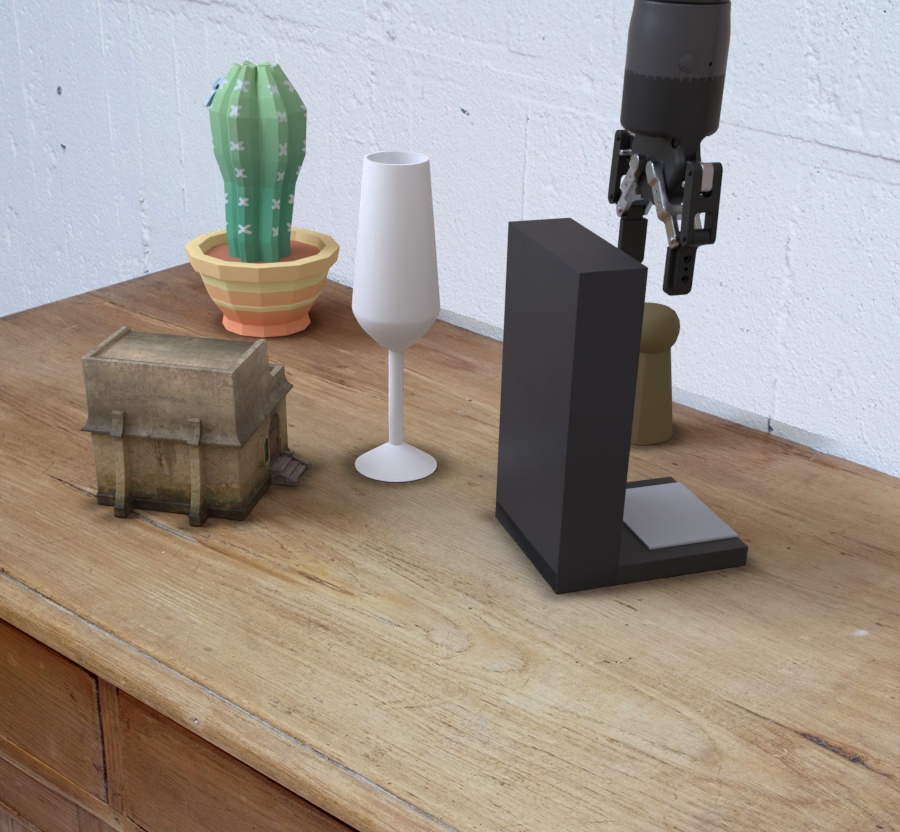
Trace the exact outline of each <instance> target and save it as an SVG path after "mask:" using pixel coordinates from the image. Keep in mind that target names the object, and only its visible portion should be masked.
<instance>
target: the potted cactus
mask: <svg viewBox="0 0 900 832" xmlns="http://www.w3.org/2000/svg"><path fill="white" fill-rule="evenodd" d="M211 87H212V90H211V91H209V93H208V94H207V96H206V98H205V100H204V101H203V103H202V106H203V107H205V108H206V110H208V115H209V123H210V132H211V141H212V149H213V155H214V157H215V161H216V163H217V165H218V168H219V171H220V174H221V177H222V180H223V189H224V190H223V191H224V207H225V208H224V210H225V227H226V228H224V229H219V230H215V231H211V232H207V233H203V234H199V235H197V236H196V237H194V238H193V239H192V240H190V241H189V242H188V243H186V244H185V245H184V248H185V252H186V254H187V255H186V256H187V258H188V261H189V263H190V265H191V266H192V268H193V270H194V271H195V272H196V273H199V275H200V277H201V280H202V282H203V284H204V286H205V288H206V291H207V293H208V295H209V298H211V300H212V302H213V303H214V304H215V305H216V306H217V308H218V309H219V311H221V313H222V314H223V315H222V322H221V324H222V325H223V327H224V328H225V331H228V332H230V333H234V334H237V335H239V336H244V337H254V338H271V337H272V338H273V337H283V336H285V337H286V336H289V335H292V334H295V333H299V332H303V331H304V330H306V328H307V327H308V326H309V325H311V319H310V316H309V312H310V310H311V309H312V307H313V305H314V304H315V303H316V301H317V300H318V298H319V297H320V295H321V294H322V292H323V289H324V288H325V284H326V280H327V277H328V274H329V272H330V269H331V268H332V267H333V266H334V265H335V264H336V263H337V262H338V259H339V254H340V249H341V248H340V247H341V245H339V243H338V242H337V241H336V240H335V239H334V238H333V237H332V235H329V234H325V233H322V232H318V231H315V230H311V229H307V228H304V227H292V225H293V214H294V205H295V196H296V195H295V194H296V185H297V181H298V178H299V175H300V173H301V169H302V166H303V163H304V161H305V158H306V155H307V124H308V123H307V122H308V119H307V118H308V108H307V107H306V105H305V104H304V102H303V99H302V98H301V95H300V94H299V93H298V91H297V90H296V88H295V87H294V85H293V83H292V82H291V81H290V79H289V77H288V76H287V75H286V73H285V72H284V71H283V69H282V67H281V66H280V64H279V63H275V64H273V65H272V63H271V62H270V61H269V60H265V61H263V62H261V63H259V64H257V65H256V64H255V63H253V62H251V61H249V60H243V62H242V64H239V63H237V62H233V64H232V66H231V67H230V68H229V70H228V72H227V73H226V75H223V77H220V78H219V77H218V78H217V79H216V80H215V81H214V83H213V84H212V85H211Z"/></svg>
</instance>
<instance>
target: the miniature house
mask: <svg viewBox="0 0 900 832" xmlns="http://www.w3.org/2000/svg"><path fill="white" fill-rule="evenodd" d="M80 360H81V368H82V376H83V383H84V389H85V390H84V391H85V400H86V407H87V419H86V422H85V423H84V425H82V427H81V428H80V432H86V433H90V438H91V439H90V440H91V446H92V447H91V448H92V454H93V463H94V470H95V471H94V472H95V477H96V479H95V480H96V486H97V492H96V494H95V495H96V503H97V504H98V505H104V506H112V507H113V514H114V517H115V518H123V519H126V518H127V517H128V516H129V515H130V514H131V513H132V512H133V511H134V510H135V509H138V510H147V511H157V512H164V513H171V514H172V513H173V514H181V515H188V525H189V526H192V527H199V528H200V527H202V526H203V524H204V523H205V522H206V521H207V520H208V519H209V518H215V519H224V520H225V519H226V520H234V521H244V520H246V518H247V517H248V515H250V513H252V512H251V511H253V509H254V508H255V506H256V505H257V504H258V502H259V501H260V499H262V497H263V496H264V495H265V493H266V492H267V491H268V489H269V488H270V486H271V485H272V484H273V485H282V486H290V487H291V486H292V487H298V486H299V479H300V477H301V476H302V474H303V473H304V472H305V470H306V469H309V470H310V469H311V467H312V465H311V464H312V462H311V461H307V460H305V459H303V458H302V457H300V456H298V455H296V453H295V451H293V450H291V449H290V448H289V440H288V439H289V438H288V437H289V436H288V435H289V434H288V415H287V395H288V394H289V393H290V391H292V389H293V388H294V384H293V383H291V382H290V381H289V380H288V379H287V376H286V372H285V370H286V369H285V364H281V363H272V362H270V361H269V351H268V341H267V339H264V338H258V339H257V340H255V341H244V340H236V339H235V340H233V339H225V338H224V339H221V338H213V337H202V336H201V337H200V336H190V335H180V334H169V333H157V332H148V331H138V330H137V331H136V330H135V331H134V330H132V328H131V327H130V326H120V327H119V328H118V329H117V330H116V331H115V332H113V333H112V334H111V335H109V336H108V337H106V338H105V339H104V340H103V341H101V342H100V343H99V344H98V345H96V346H95V347H94V348H92V349H91V350H89V352H87V353H86V354H84V355H83V356H82V357H81V358H80Z"/></svg>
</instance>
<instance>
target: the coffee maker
mask: <svg viewBox="0 0 900 832" xmlns="http://www.w3.org/2000/svg"><path fill="white" fill-rule="evenodd" d="M507 223H508V224H507V226H508V227H507V243H506V244H507V246H506V264H505V265H506V267H505V268H506V269H505V287H504V288H505V289H504V313H503V314H504V315H503V335H502V336H503V337H502V357H501V379H500V401H499V426H498V443H497V445H498V447H497V471H496V492H495V493H496V494H495V512H494V516H495V519H496V520H497V521H498V522H499V524H501V526H502V527H503V529H504V530H505V531H506V532H507V534H508V535H509V536H510V537H511V539H512V540H513V541H514V542H515V543H516V545H517V546H518V547H519V549H520V550H521V551H522V552H523V554H524V555H525V557H527V559H528V560H529V562H530V563H531V564H532V565H533V566H534V568H535V569H536V570H537V571H538V573H539V574H540V576H541V577H542V578H543V579H544V580H545V582H546V583H547V584H548V586H549V587H550V588H551V589H552V591H553V592H554V593H555V594H557V595H559V594H564V593H571V592H578V591H583V590H592V589H597V588H603V587H611V586H616V585H622V584H624V585H625V584H630V583H637V582H642V581H643V582H644V581H649V580H655V579H656V580H657V579H661V578H668V577H669V578H670V577H675V576H681V575H689V574H696V573H704V572H708V571H716V570H722V569H727V568H734V567H740V566H746V565H747V558H748V552H749V551H748V550H749V546H748V545H747V544H746V543H745V542H744V541H743V540H742V539H740V537H739V534H738V533H737V532H736V531H735V530H734V529H733V528H732V527H731V526H730V525H728V524H727V522H725V521H724V520H723V519H722V518H721V517H720V516H719V515H717V514H716V513H715V511H713V510H712V509H710V507H709V506H707V504H705V503H704V502H703V500H701V499H700V498H698V497H697V495H695V494H694V493H693V492H692V491H691V490H690V489H689V488H688V487H687V486H686V485H684V484H683V483H682V482H681V481H677V480H676V479H674V477H672V476H664V477H655V478H649V479H640V480H634V481H633V480H632V481H628V474H629V463H630V453H631V445H632V444H631V435H632V425H633V415H634V405H635V395H636V385H637V375H638V365H639V355H640V345H641V335H642V325H643V315H644V305H645V302H646V294H647V285H648V274H649V267H648V266H646V265H645V264H643V262H642V263H640V262H639V261H637V260H635V259H634V258H632V257H631V256H629V255H628V254H626V253H625V252H623V251H621V250H620V249H618V246H615V245H614V244H612V243H611V242H609V241H608V240H606V239H605V238H603V237H601V236H600V235H598V234H597V233H595V232H594V231H592V230H590V229H589V228H587V227H586V226H584V225H583V224H581V223H579V222H578V221H576V220H575V219H574V218H571V217H560V218H559V217H558V218H543V219H529V220H527V219H526V220H513V221H508V222H507Z"/></svg>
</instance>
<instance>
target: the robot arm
mask: <svg viewBox="0 0 900 832" xmlns="http://www.w3.org/2000/svg"><path fill="white" fill-rule="evenodd" d="M731 32H732V0H633V6H632V12H631V16H630V20H629V25H628V32H627V39H626V40H627V41H626V51H625V63H624V74H623V84H622V93H621V94H622V95H621V104H620V105H621V107H620V117H619V123H620V125H621V128H622V129H617V130H615V132H614V139H613V147H612V154H611V155H612V156H611V165H610V174H609V181H608V189H607V190H608V191H607V201H608V203H609V204H610V205H616V206H615V213H616V215H617V217H618V218H620V219H619V228H618V236H617V237H618V239H617V248H618V249H620V250H621V251H623V252H625V253H626V254H628V255H629V256H631V257H632V258H634V259H635V260H637V261H639V262H640V263H642V264H643V262H644V259H645V251H646V242H647V234H648V233H647V232H648V225H649V219H648V218H646V217H645V216H648V214H649V212H650V211H651V209H652V207H653V206H655V211H656V217H657V219H658V220H659V221H660V222H662V223H663V224H664V229H665V234H666V238H667V244H668V246H667V247H666V252H665V253H666V254H665V255H666V256H665V264H664V271H663V278H662V279H663V280H662V288H661V289H662V291H663V293H665V294H666V295H667V296H670V297H672V296H673V297H675V296H687V295H688V294H690V293H691V292H692V289H693V281H694V274H695V265H696V258H697V253H698V252H697V251H698V249H699V247H702V246H710V245H714V244H715V243H716V240H717V235H718V233H717V232H718V224H719V223H718V222H719V212H720V203H721V195H722V185H723V184H722V183H723V174H724V167H723V164H722V163H721V162H720V161H713V162H712V161H711V162H704V161H702V154H701V153H702V152H701V151H702V150H701V143H702V142H703V140H704V139H705V138H707V137H710V136H713V135H714V134H715V133H717V131H718V129H719V128H720V123H721V122H720V121H721V114H722V113H721V112H722V106H723V99H724V91H725V90H724V89H725V82H726V74H727V69H728V68H727V67H728V59H729V52H730V44H731V43H730V42H731V36H732V35H731V34H732V33H731ZM623 177H624V178H623ZM622 178H623V180H622ZM701 214H704V220H703V221H704V222H703V227H702V221H701ZM679 221H680V226H679Z"/></svg>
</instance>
